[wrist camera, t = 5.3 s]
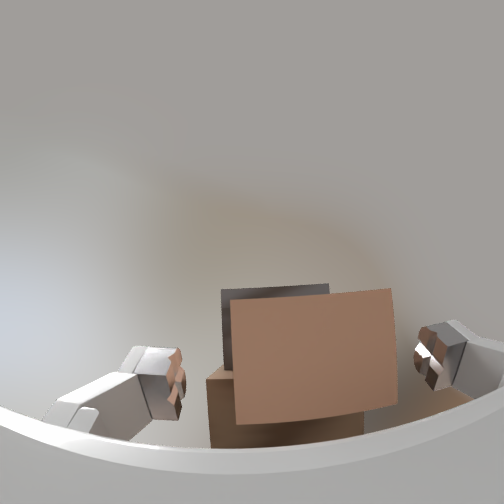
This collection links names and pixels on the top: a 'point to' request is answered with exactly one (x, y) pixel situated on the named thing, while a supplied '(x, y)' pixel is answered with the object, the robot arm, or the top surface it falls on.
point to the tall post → (268, 434)
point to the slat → (313, 356)
